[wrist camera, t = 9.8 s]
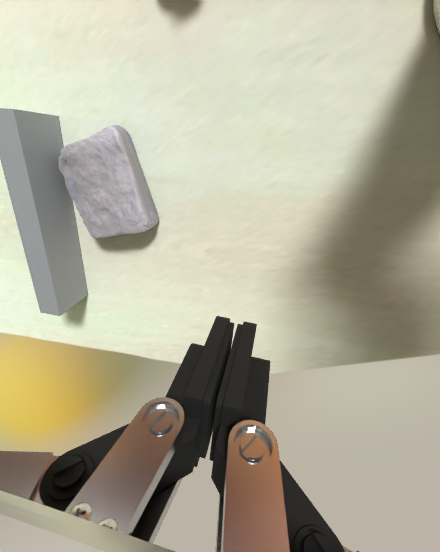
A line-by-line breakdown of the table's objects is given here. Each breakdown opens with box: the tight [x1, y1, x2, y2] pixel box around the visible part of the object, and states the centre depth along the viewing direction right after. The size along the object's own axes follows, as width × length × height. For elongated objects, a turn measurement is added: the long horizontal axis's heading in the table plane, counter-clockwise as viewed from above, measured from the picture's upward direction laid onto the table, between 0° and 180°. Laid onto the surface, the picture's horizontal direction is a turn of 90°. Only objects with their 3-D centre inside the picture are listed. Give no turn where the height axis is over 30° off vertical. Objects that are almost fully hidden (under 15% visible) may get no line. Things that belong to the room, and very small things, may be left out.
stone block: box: [59, 125, 159, 238], centre depth 33 cm, size 12×5×10 cm
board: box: [0, 108, 88, 316], centre depth 34 cm, size 24×3×6 cm, turn 176°
